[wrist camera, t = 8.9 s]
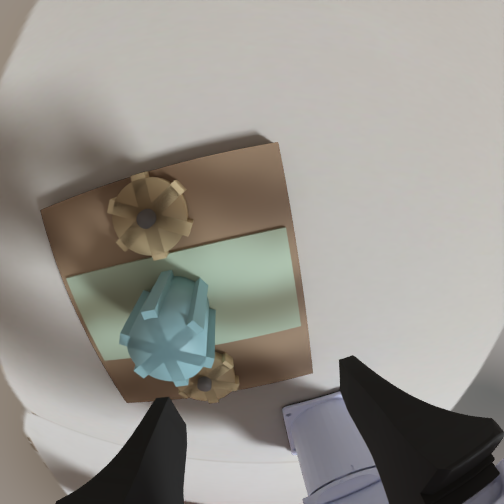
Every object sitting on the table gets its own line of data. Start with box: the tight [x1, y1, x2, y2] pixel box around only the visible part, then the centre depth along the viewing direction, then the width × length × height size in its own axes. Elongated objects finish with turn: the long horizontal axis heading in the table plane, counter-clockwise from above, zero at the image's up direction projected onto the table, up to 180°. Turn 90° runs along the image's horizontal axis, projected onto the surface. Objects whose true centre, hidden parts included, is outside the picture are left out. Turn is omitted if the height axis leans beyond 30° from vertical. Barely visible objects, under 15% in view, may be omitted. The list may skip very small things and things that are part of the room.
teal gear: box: [119, 270, 216, 387], centre depth 15 cm, size 5×4×5 cm
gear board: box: [40, 142, 313, 404], centre depth 18 cm, size 17×16×3 cm
